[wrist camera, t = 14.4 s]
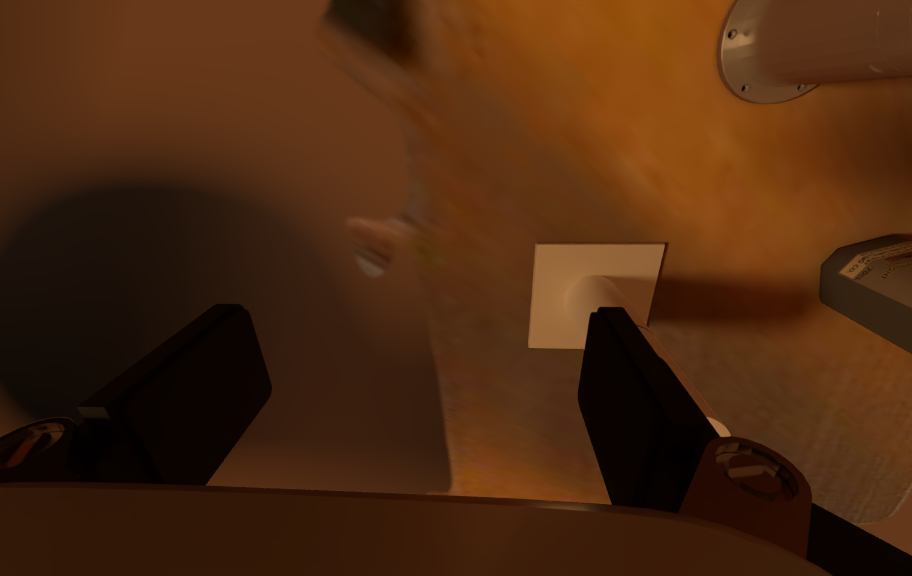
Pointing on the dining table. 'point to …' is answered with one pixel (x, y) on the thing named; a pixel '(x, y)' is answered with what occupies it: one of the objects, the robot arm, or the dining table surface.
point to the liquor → (872, 286)
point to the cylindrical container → (604, 293)
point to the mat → (569, 262)
